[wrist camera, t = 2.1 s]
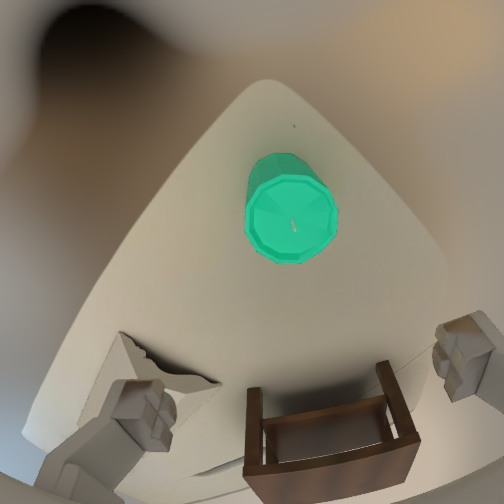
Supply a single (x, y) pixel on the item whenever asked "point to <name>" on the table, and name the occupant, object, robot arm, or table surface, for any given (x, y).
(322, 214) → the candle
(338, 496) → the stand
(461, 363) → the robot arm
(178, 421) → the molding piece
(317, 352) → the table surface
